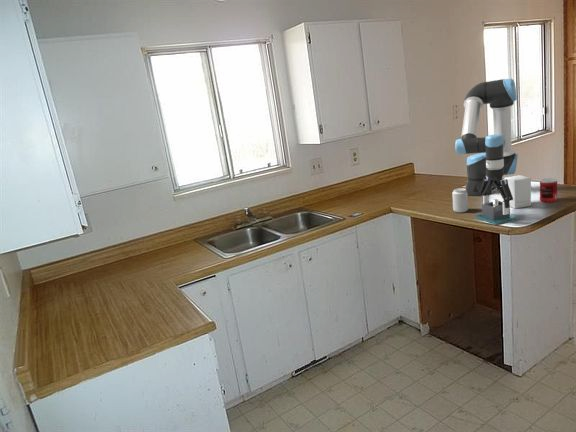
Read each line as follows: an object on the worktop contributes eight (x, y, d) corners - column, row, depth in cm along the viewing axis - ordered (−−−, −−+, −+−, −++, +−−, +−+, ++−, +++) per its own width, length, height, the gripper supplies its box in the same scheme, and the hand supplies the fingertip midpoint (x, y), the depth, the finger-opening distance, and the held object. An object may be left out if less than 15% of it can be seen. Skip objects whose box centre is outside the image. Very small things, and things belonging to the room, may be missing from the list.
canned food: (552, 197, 225) (552, 177, 222) (560, 201, 217) (560, 180, 215) (536, 199, 226) (536, 179, 223) (544, 203, 218) (544, 182, 216)
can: (450, 210, 230) (449, 189, 227) (464, 208, 231) (463, 186, 228) (457, 213, 223) (456, 191, 220) (470, 211, 224) (470, 189, 220)
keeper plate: (475, 218, 212) (475, 199, 210) (496, 213, 215) (496, 195, 212) (495, 224, 199) (494, 205, 197) (517, 219, 201) (517, 200, 199)
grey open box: (482, 216, 209) (481, 204, 208) (498, 212, 211) (497, 200, 210) (493, 219, 202) (493, 207, 200) (509, 215, 204) (509, 203, 202)
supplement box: (531, 206, 217) (531, 177, 213) (514, 209, 217) (514, 180, 213) (520, 202, 226) (520, 174, 222) (504, 205, 226) (503, 177, 222)
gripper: (470, 166, 211) (472, 207, 217) (507, 172, 188) (507, 218, 193) (483, 163, 213) (485, 204, 218) (521, 169, 189) (521, 215, 195)
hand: (495, 211), depth 206 cm, fingers open, 13 cm apart
